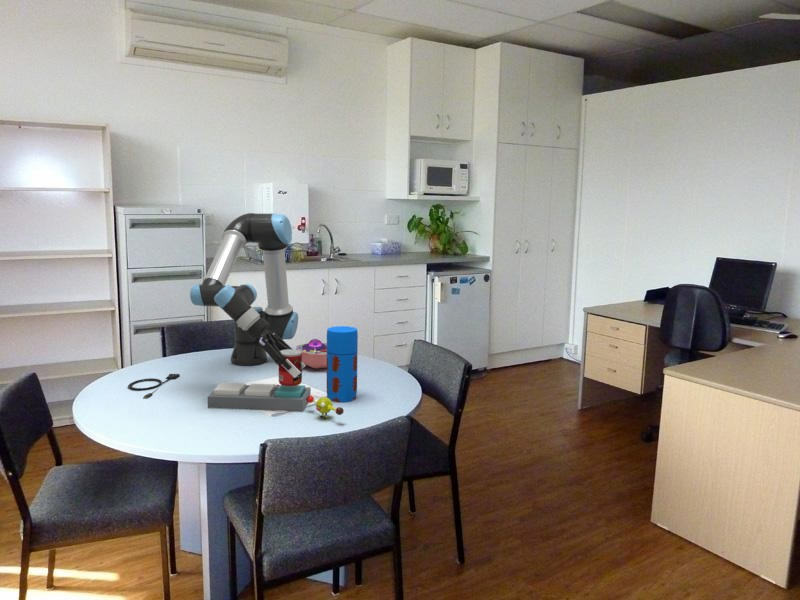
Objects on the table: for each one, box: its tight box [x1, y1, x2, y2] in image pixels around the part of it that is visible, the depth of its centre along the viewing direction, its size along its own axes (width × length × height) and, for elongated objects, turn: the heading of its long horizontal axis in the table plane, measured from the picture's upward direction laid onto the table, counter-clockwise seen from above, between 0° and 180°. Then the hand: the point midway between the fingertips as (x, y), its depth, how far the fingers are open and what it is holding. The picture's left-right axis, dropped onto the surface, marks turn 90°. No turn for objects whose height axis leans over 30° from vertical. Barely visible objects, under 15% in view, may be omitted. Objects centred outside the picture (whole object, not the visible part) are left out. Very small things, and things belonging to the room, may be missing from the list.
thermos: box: [326, 325, 359, 403], centre depth 224 cm, size 11×11×25 cm
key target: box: [275, 384, 306, 398], centre depth 218 cm, size 8×8×4 cm
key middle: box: [245, 383, 277, 396], centre depth 218 cm, size 8×8×4 cm
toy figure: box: [306, 395, 344, 419], centre depth 205 cm, size 18×6×7 cm, turn 45°
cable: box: [127, 373, 181, 400], centre depth 235 cm, size 14×28×2 cm, turn 176°
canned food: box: [277, 348, 303, 386], centre depth 216 cm, size 8×8×11 cm
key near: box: [213, 382, 247, 395], centre depth 219 cm, size 8×8×4 cm
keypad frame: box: [206, 384, 312, 412], centre depth 218 cm, size 14×32×4 cm, turn 87°
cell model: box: [295, 338, 327, 370], centre depth 265 cm, size 17×20×11 cm
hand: (300, 371), depth 216 cm, fingers closed on canned food, 8 cm apart
